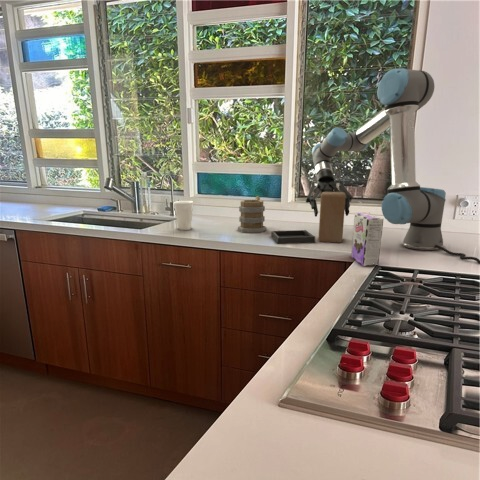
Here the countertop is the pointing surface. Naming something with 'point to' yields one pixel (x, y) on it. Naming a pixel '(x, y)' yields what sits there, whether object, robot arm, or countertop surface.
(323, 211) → the block
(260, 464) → the countertop surface
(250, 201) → the tankard
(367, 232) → the candy box
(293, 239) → the dark grey square tray
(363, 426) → the countertop surface
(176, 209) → the foam cup
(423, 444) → the countertop surface
